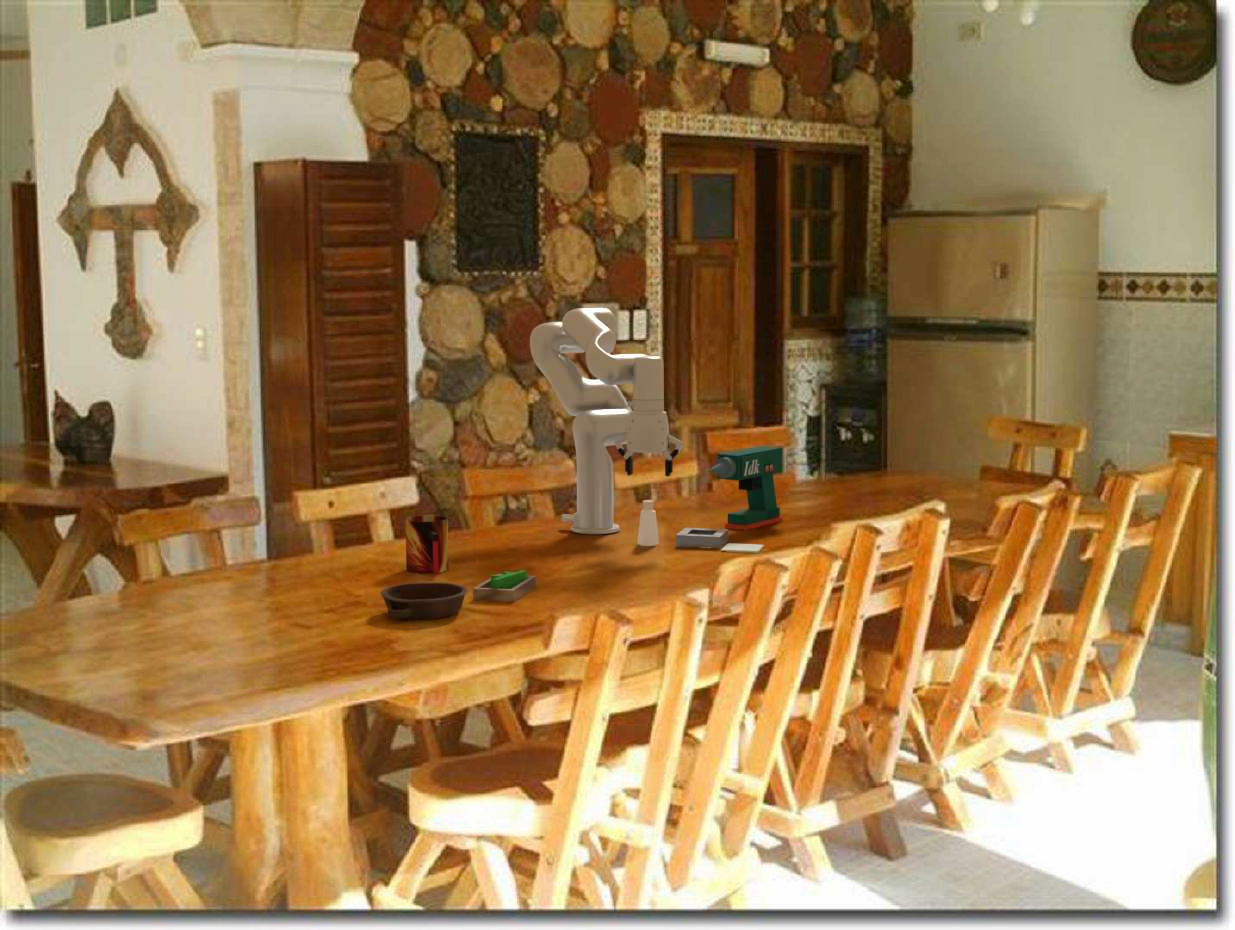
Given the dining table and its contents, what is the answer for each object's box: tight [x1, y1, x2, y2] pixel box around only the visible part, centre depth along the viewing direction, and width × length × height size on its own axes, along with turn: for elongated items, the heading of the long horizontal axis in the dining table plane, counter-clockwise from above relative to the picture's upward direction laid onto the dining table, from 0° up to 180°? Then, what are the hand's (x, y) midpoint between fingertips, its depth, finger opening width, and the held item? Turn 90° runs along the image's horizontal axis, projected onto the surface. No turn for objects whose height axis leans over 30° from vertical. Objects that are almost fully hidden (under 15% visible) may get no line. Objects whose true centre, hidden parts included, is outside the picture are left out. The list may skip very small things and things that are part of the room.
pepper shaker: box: [637, 499, 660, 547], centre depth 417 cm, size 5×5×11 cm
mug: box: [405, 514, 449, 575], centre depth 383 cm, size 10×14×12 cm
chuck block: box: [675, 527, 729, 549], centre depth 418 cm, size 11×11×3 cm
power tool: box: [707, 445, 783, 531], centre depth 441 cm, size 32×7×20 cm, turn 143°
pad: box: [720, 542, 765, 554], centre depth 411 cm, size 9×9×1 cm
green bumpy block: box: [490, 569, 528, 589], centre depth 359 cm, size 11×4×5 cm, turn 149°
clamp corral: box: [472, 573, 537, 603], centre depth 359 cm, size 9×16×2 cm, turn 166°
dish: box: [379, 581, 469, 620], centre depth 340 cm, size 18×22×5 cm
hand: (648, 475), depth 415 cm, fingers open, 9 cm apart
